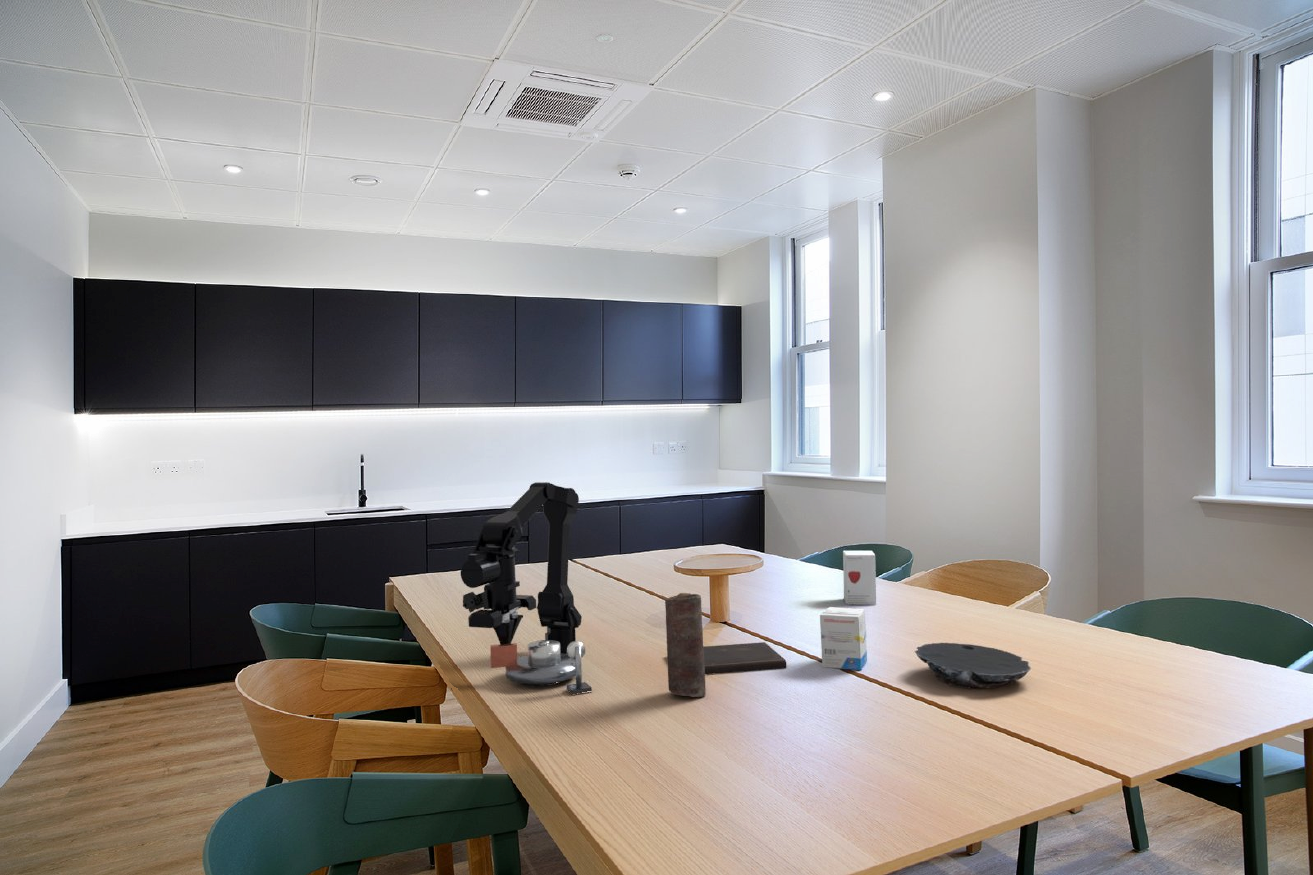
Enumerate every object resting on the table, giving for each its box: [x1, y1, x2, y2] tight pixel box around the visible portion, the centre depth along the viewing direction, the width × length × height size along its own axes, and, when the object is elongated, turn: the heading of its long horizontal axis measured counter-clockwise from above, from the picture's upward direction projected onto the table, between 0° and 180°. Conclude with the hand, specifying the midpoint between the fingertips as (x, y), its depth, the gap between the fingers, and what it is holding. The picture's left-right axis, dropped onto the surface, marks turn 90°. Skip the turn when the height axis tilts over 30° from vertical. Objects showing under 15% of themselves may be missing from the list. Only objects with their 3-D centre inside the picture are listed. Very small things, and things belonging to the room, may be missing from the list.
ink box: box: [819, 606, 868, 671], centre depth 175 cm, size 9×8×12 cm
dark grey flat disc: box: [913, 642, 1032, 691], centre depth 163 cm, size 22×22×5 cm
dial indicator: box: [566, 640, 593, 695], centre depth 163 cm, size 4×6×10 cm, turn 24°
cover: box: [526, 639, 561, 667], centre depth 171 cm, size 7×7×5 cm
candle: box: [664, 592, 707, 698], centre depth 157 cm, size 8×7×20 cm
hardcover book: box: [703, 641, 788, 675], centre depth 179 cm, size 16×23×2 cm
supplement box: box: [842, 550, 877, 606], centre depth 239 cm, size 9×9×15 cm
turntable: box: [490, 642, 576, 685], centre depth 171 cm, size 16×16×6 cm
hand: (505, 650), depth 172 cm, fingers closed
